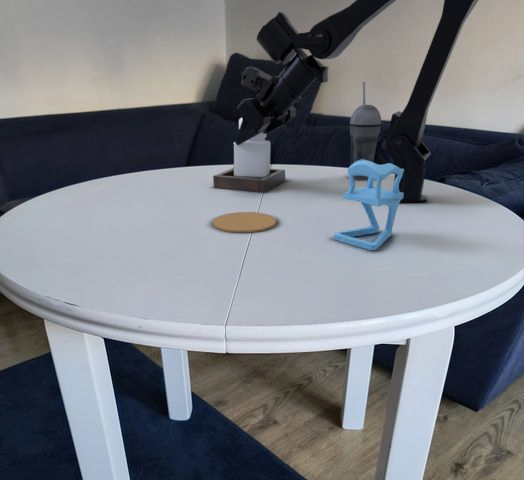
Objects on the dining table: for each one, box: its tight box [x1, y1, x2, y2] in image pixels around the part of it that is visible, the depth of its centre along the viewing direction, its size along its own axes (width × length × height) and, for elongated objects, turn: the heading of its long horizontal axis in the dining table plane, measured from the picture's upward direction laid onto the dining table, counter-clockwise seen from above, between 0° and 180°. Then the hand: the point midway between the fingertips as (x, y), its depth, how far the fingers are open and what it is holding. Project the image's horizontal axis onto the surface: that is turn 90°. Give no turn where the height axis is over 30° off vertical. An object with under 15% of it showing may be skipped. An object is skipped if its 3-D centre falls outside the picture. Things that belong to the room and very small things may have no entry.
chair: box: [333, 159, 404, 252], centre depth 73 cm, size 8×8×12 cm
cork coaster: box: [212, 211, 277, 234], centre depth 84 cm, size 11×11×1 cm
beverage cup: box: [348, 81, 383, 181], centre depth 110 cm, size 7×7×20 cm
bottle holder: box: [212, 167, 286, 193], centre depth 109 cm, size 12×12×2 cm
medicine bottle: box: [232, 117, 271, 178], centre depth 106 cm, size 7×7×12 cm
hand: (244, 141), depth 106 cm, fingers closed on medicine bottle, 7 cm apart
